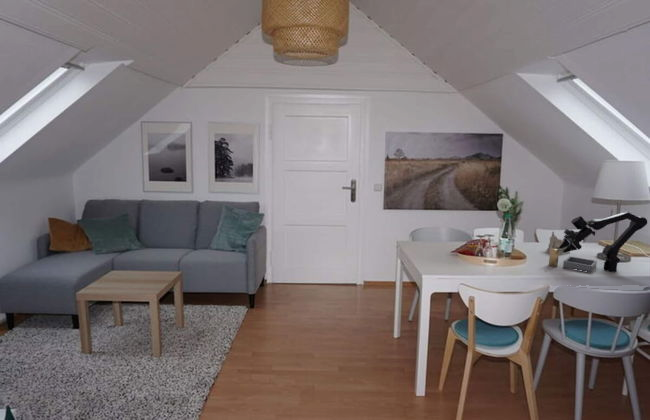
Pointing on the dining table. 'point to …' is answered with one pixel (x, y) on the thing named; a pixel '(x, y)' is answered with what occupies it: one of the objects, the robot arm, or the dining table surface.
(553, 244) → the ceramic cottage
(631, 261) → the dining table surface
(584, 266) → the charcoal bin
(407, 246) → the dining table surface
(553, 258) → the brass canister
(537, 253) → the dining table surface
